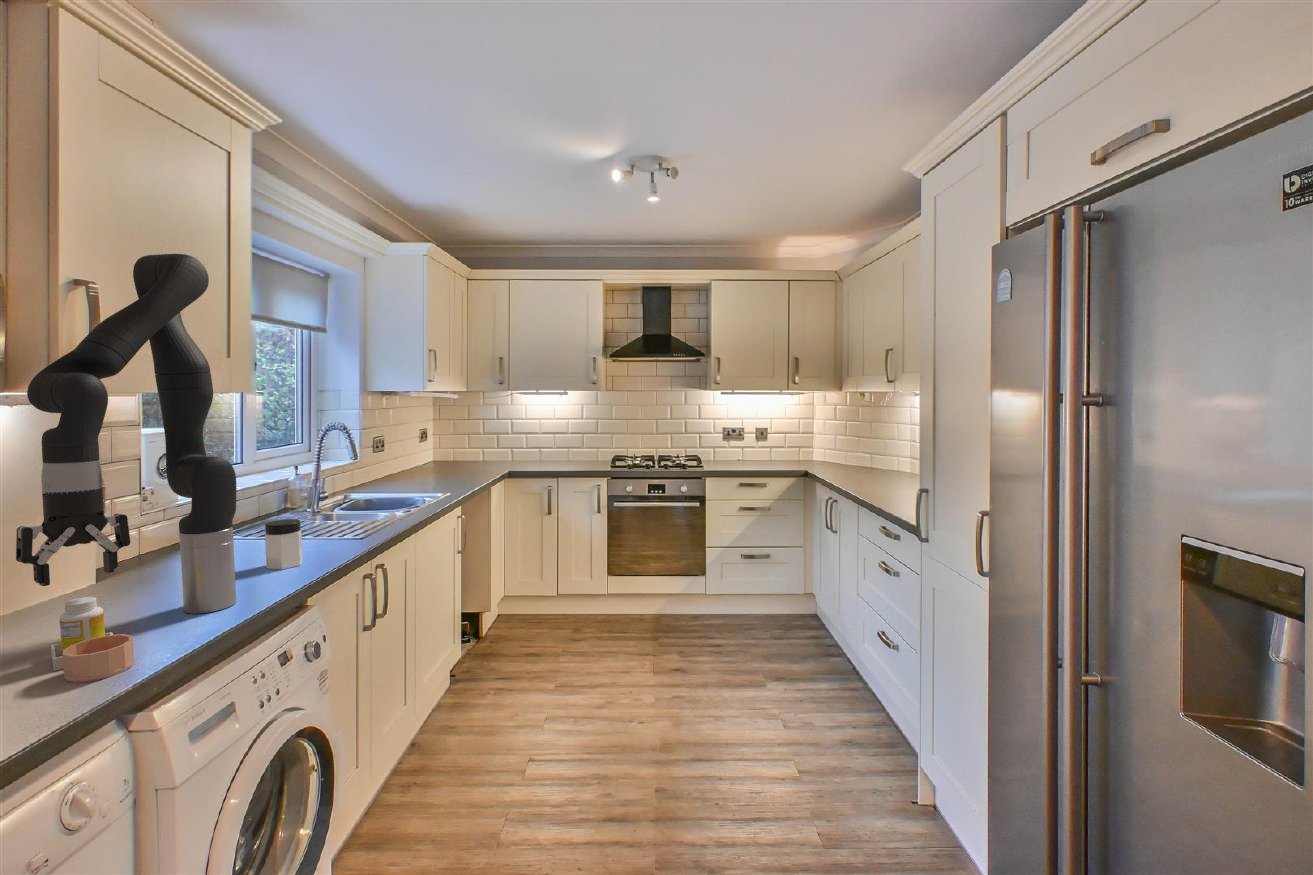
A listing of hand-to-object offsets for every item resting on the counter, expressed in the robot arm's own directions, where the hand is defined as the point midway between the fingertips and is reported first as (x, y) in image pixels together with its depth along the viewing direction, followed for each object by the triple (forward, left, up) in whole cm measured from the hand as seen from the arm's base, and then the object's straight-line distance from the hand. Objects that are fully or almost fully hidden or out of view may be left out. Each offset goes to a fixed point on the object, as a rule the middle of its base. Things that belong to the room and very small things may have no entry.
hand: (77, 578), depth 103 cm
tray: (0, 0, -14) cm, 14 cm away
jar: (-54, +14, -14) cm, 57 cm away
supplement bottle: (0, 0, -15) cm, 14 cm away
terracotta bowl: (+7, +7, -14) cm, 17 cm away
